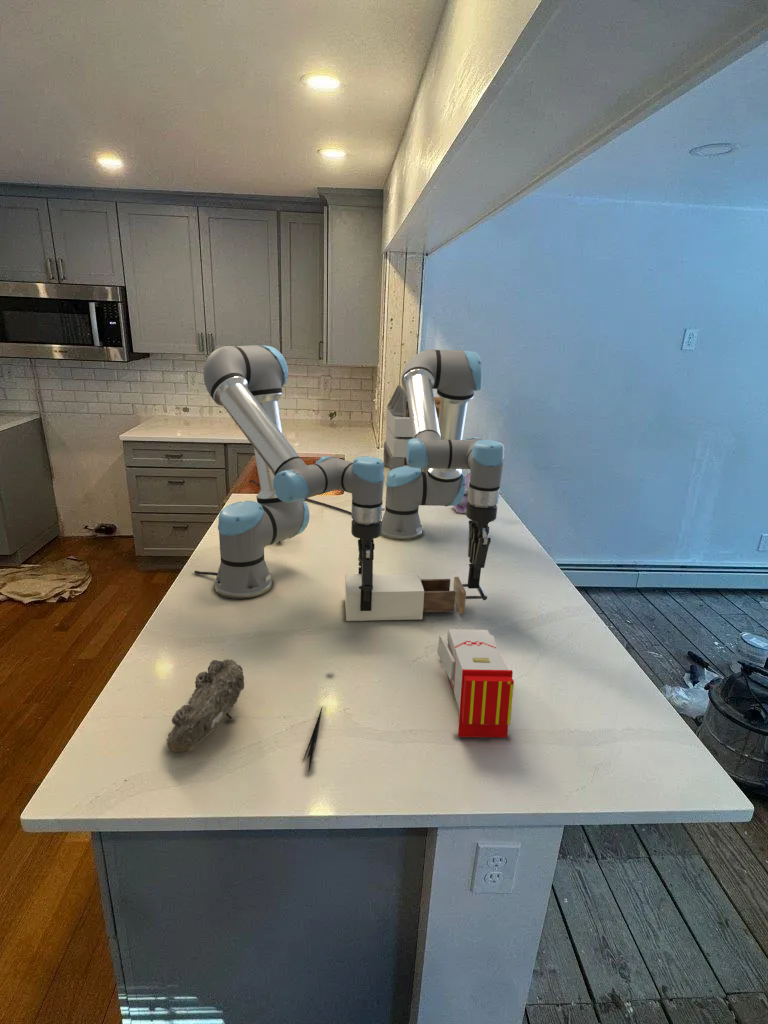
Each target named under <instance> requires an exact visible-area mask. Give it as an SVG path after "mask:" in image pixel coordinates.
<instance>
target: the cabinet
mask: <svg viewBox="0 0 768 1024" xmlns="http://www.w3.org/2000/svg"><path fill="white" fill-rule="evenodd" d="M344 579H345V580H344V584H345V585H344V605H345V608H344V609H345V621H346V622H353V621H354V622H357V621H358V622H359V621H361V622H363V621H403V620H404V621H405V620H407V621H408V620H423V619H424V612H423V604H424V589H423V586H422V583H421V580H420V579H421V578H420V574H419V573H418V572H410V573H409V572H407V573H406V572H404V573H403V572H402V573H400V572H398V573H397V572H396V573H394V572H393V573H391V572H390V573H373V589H372V603H371V611H360V602H361V589H359V586H361V585H362V574H358V573H345V575H344Z"/></svg>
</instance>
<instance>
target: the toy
mask: <svg viewBox="0 0 768 1024" xmlns="http://www.w3.org/2000/svg"><path fill="white" fill-rule="evenodd" d="M446 640H447V643H446V641H445V639H444V636H443V635H442V634H439V637H438V646H437V656H438V657H439V659H440V661H441V663H442V666H443V668H444V670H445V672H446V674H447V677H448V679H449V681H450V684H451V687H452V690H453V693H454V697H455V701H456V705H457V708H458V711H459V714H458V715H459V716H458V730H457V731H458V732H457V737H458V738H508V731H509V726H510V725H511V717H512V707H513V697H514V696H513V695H514V684H515V680H514V679H513V673H514V671H513V670H512V669H508V667H507V665H506V662H505V661H504V659H503V658H502V655H501V653H500V651H499V649H498V647H497V643H496V639H495V637H494V635H493V634H491V632H490V631H489V629H467V628H466V629H465V628H463V629H461V628H460V629H459V628H448V630H447V639H446Z"/></svg>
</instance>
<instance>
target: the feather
mask: <svg viewBox="0 0 768 1024" xmlns="http://www.w3.org/2000/svg"><path fill="white" fill-rule="evenodd" d="M329 675H330V676H331V675H332V674H331V673H330V674H329ZM322 710H323V707H321V708H320V710H319V713H318V716H317V719H316V723H315V725H314V728H313V731H312V733H311V737H310V739H309V742H308V745H307V748H306V751H305V754H304V757H303V760H302V763H301V767H302V765H303V763H304V761H305V758H308V759H309V760H308V762H307V763H308V764H307V766H308V771H310V770H311V766H312V765H311V764H312V760H313V757H315V756H314V755H315V751H316V749H315V746H317V739H318V733H319V729H320V722H321V717H322V712H323V711H322ZM313 754H314V755H313ZM306 755H307V757H306Z"/></svg>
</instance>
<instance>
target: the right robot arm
mask: <svg viewBox="0 0 768 1024" xmlns="http://www.w3.org/2000/svg"><path fill="white" fill-rule="evenodd" d="M481 360H482V359H481V357H480V355H479V353H477V352H476V351H471V350H465V349H462V350H461V349H457V350H456V349H432V348H431V349H424V350H421V351H420V352H418V353H416V354H415V355H413V356H412V357H411V358H410V359H408V361H407V363H406V364H405V366H404V367H403V369H402V373H401V387H402V388H403V390H404V391H405V393H407V400H408V408H409V415H410V423H411V431H412V439H409V440H408V442H407V447H406V461H407V465H408V466H407V465H404V466H403V467H398V468H395V469H392V470H391V471H390V470H388V473H387V475H386V482H385V487H386V488H385V489H386V490H385V504H384V505H385V507H384V508H385V510H384V513H383V514H382V519H381V521H382V533H381V535H380V536H382V537H385V538H387V539H389V540H395V541H410V540H415V539H418V538H420V537H421V536H422V535H423V525H422V524H421V518H420V515H419V507H420V506H429V507H431V506H435V507H436V506H437V507H438V506H439V507H440V506H441V507H451V506H453V507H454V506H455V505H458V504H459V503H460V502H461V500H462V498H463V496H464V492H465V484H466V480H465V477H466V475H465V474H464V473H463V470H469V473H470V479H469V489H468V498H467V500H468V501H469V502H468V503H467V510H466V513H465V515H466V516H465V517H466V518H467V519H469V520H468V546H467V547H468V548H467V550H468V551H467V557H468V558H469V559H468V560H469V561H468V562H469V563H468V577H467V584H468V585H467V586H468V587H467V588H468V589H469V590H470V589H476V590H477V589H479V583H480V581H481V573H482V569H484V568H485V566H486V561H487V557H488V551H489V546H490V544H491V542H492V538H491V537H489V536H488V535H489V534H490V526H489V524H490V523H492V522H494V521H496V519H497V515H498V505H497V504H498V503H499V496H500V495H501V494H502V491H501V490H500V488H501V481H502V473H503V465H504V461H505V446H504V444H503V443H501V442H500V441H496V440H491V439H482V438H480V437H477V436H471V437H468V438H466V439H463V438H464V432H463V431H465V424H466V417H467V410H468V404H469V401H471V400H472V399H474V397H475V392H478V391H480V390H481V389H482V386H483V367H482V361H481ZM434 390H436V395H437V397H440V398H441V402H440V410H439V419H438V418H437V412H436V407H435V401H434V397H435V396H434ZM425 469H427V471H422V470H425ZM248 482H249V483H253V484H254V485H256V486H258V487H260V483H258V482H257V481H255V480H254V479H250V480H249V481H248ZM304 500H305V501H307V502H311V503H315V504H318V505H322V506H324V507H328V508H332V509H334V510H338V511H340V512H342V513H346V514H348V515H352V511H349V510H347V509H343V508H341V507H338V506H334V505H331V504H328V503H325V502H321V501H317V500H314V499H311V498H306V499H304Z"/></svg>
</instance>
